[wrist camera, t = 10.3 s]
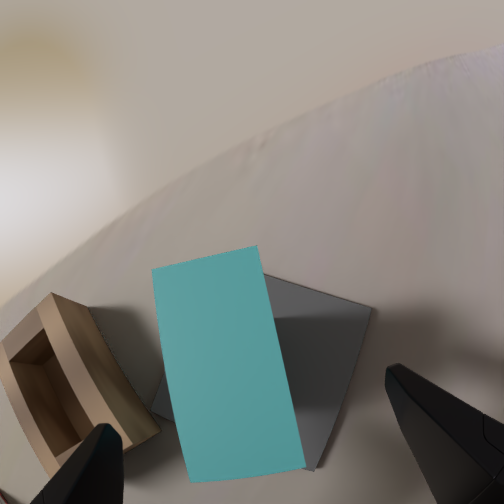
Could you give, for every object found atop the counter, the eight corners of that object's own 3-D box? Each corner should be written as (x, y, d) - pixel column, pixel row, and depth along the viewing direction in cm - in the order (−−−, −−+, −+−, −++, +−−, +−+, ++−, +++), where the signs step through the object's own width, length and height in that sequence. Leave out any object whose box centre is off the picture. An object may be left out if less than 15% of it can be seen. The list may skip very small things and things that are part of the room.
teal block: (292, 404, 16) (306, 467, 5) (246, 413, 16) (190, 482, 5) (272, 317, 17) (256, 245, 7) (228, 327, 17) (151, 269, 7)
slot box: (162, 430, 16) (132, 443, 12) (89, 472, 15) (55, 486, 11) (86, 306, 19) (50, 292, 15) (28, 358, 18) (-9, 352, 14)
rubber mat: (369, 309, 17) (371, 308, 17) (313, 469, 14) (314, 471, 14) (211, 259, 19) (209, 257, 19) (153, 409, 16) (150, 410, 16)
